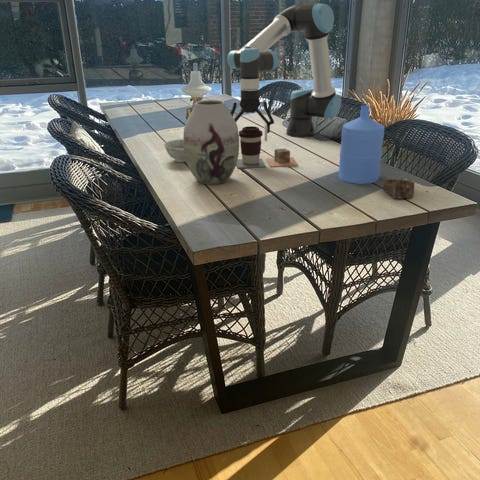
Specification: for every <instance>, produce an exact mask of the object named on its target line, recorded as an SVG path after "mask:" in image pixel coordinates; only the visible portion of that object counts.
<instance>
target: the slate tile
mask: <svg viewBox="0 0 480 480" xmlns="http://www.w3.org/2000/svg"><path fill="white" fill-rule="evenodd" d="M266 167H267V166H266V164H265V162H264V160H263V158H259V163H258V164H254V165H247V164H244V163H243V162H242V158H240V159H239V158H238V160H237V164H236V169H237V170H240V169H241V170H242V169H245V170H247V169H261V168H262V169H263V168H265V169H266Z"/></svg>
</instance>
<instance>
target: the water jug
mask: <svg viewBox="0 0 480 480" xmlns="http://www.w3.org/2000/svg"><path fill="white" fill-rule="evenodd" d="M359 114H360V116H359V117H357V118H355V119H352V120H350V121H348V122H346V123H343V124H342V129H341V143H340V151H339V168H338V174H337V175H338V180H341V181H343V182H346V183H350V184H356V185H357V184H358V185H361V184H362V185H366V184H367V185H368V184H372V183H375V182H378V181H379V180H380V170H381V162H382V161H381V160H382V155H383V153H382V151H383V143H384V137H385V126H384V125H383V124H382V123H380V122H378V121H376V120H374V119H373V118H370V117H369V114H370V105H361V106H360V113H359Z"/></svg>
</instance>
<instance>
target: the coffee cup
mask: <svg viewBox="0 0 480 480" xmlns="http://www.w3.org/2000/svg"><path fill="white" fill-rule="evenodd" d="M238 134H239V138H240V139H239V145H240V154H241V159H242V162H243V163H244V164H247V165H254V164H258V163H259V159H260V157H261V156H260V154H261V147H262V137H263V131H262V130H260V128H259V127H257V126H252V125H251V126H250V125H248V126H244V127H242V129H241V130H238Z"/></svg>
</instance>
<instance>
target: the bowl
mask: <svg viewBox="0 0 480 480" xmlns="http://www.w3.org/2000/svg"><path fill="white" fill-rule="evenodd" d="M163 146H164V148H165V150H166V153H167V154H168V155H169V156H170V158H172V159H174V161H175V162H178V163H187V161H186V158H185V153H184V145H183V138H182V139H181V138H180V139H172V140H168V141H165V142H164V143H163Z"/></svg>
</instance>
